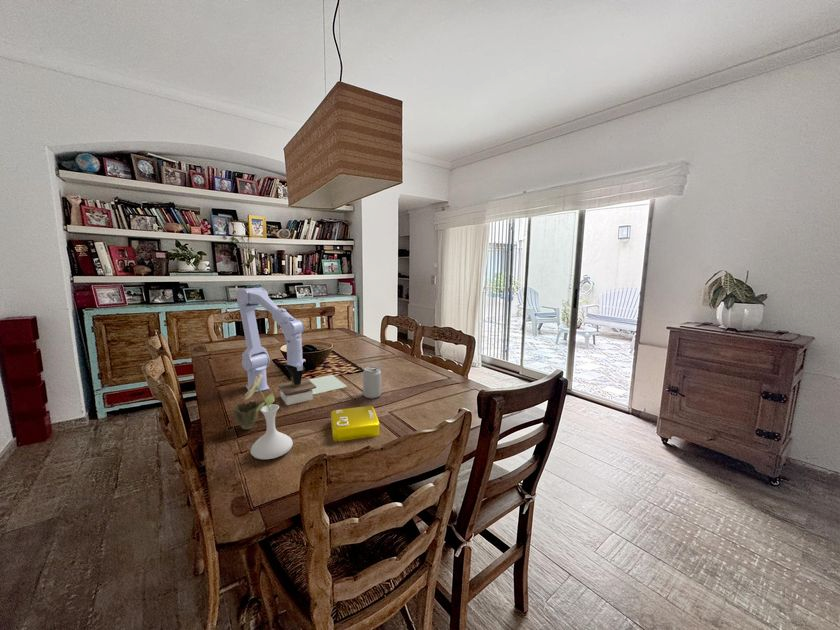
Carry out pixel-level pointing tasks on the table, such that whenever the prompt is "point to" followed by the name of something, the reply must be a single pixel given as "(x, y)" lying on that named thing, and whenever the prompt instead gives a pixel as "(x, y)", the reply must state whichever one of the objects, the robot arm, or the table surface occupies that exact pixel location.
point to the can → (371, 382)
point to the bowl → (297, 397)
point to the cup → (246, 414)
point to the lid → (296, 386)
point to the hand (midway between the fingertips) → (296, 382)
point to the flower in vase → (268, 428)
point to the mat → (326, 384)
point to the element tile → (354, 423)
